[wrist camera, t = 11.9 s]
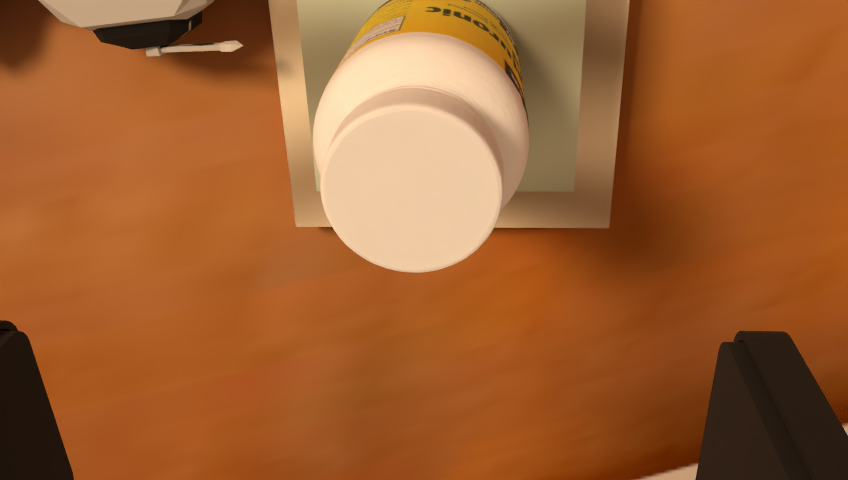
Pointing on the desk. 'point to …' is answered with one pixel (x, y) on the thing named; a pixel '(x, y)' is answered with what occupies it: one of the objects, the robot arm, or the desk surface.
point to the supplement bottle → (422, 133)
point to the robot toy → (139, 22)
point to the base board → (521, 202)
